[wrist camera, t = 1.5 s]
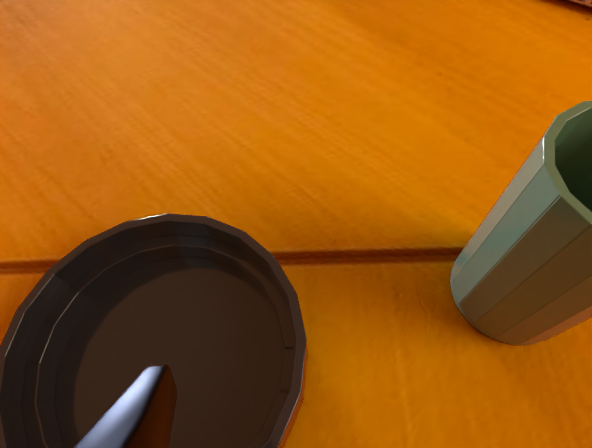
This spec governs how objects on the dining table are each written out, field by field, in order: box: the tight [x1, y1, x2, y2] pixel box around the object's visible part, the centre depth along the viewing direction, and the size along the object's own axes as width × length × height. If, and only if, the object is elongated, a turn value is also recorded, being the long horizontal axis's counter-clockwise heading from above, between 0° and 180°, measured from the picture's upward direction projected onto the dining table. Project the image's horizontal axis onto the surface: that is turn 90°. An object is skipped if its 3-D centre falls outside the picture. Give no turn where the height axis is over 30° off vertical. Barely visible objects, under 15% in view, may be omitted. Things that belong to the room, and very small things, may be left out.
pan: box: [0, 214, 308, 448], centre depth 22 cm, size 15×15×4 cm
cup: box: [450, 101, 592, 345], centre depth 20 cm, size 7×7×12 cm
